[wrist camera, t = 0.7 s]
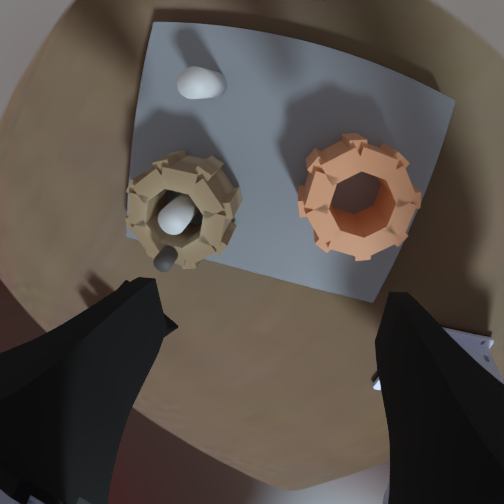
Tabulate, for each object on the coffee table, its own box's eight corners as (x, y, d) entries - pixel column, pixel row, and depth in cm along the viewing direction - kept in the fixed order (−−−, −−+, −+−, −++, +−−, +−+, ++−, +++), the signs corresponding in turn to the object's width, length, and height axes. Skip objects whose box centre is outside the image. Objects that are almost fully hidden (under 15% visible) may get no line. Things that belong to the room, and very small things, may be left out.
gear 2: (416, 155, 13) (438, 169, 11) (380, 246, 16) (392, 273, 14) (316, 119, 13) (320, 124, 11) (287, 219, 16) (285, 243, 14)
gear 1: (251, 163, 15) (237, 184, 12) (230, 254, 18) (214, 293, 14) (152, 142, 15) (115, 157, 12) (144, 230, 18) (113, 262, 14)
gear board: (443, 99, 13) (485, 105, 9) (369, 289, 19) (381, 336, 15) (164, 26, 13) (124, 10, 9) (136, 226, 19) (102, 260, 16)
